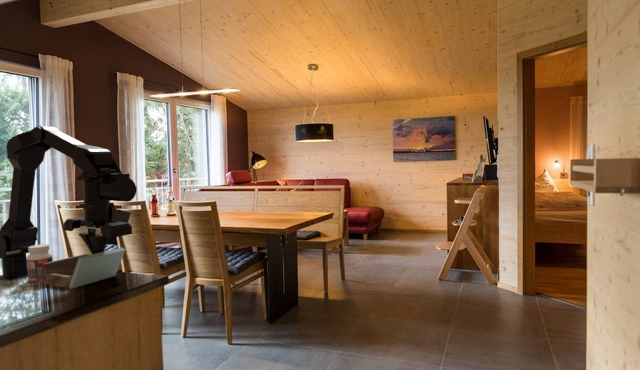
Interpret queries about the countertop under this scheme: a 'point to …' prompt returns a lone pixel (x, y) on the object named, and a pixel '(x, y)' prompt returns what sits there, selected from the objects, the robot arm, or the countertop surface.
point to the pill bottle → (37, 262)
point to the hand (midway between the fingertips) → (98, 260)
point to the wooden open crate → (60, 271)
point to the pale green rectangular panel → (96, 267)
